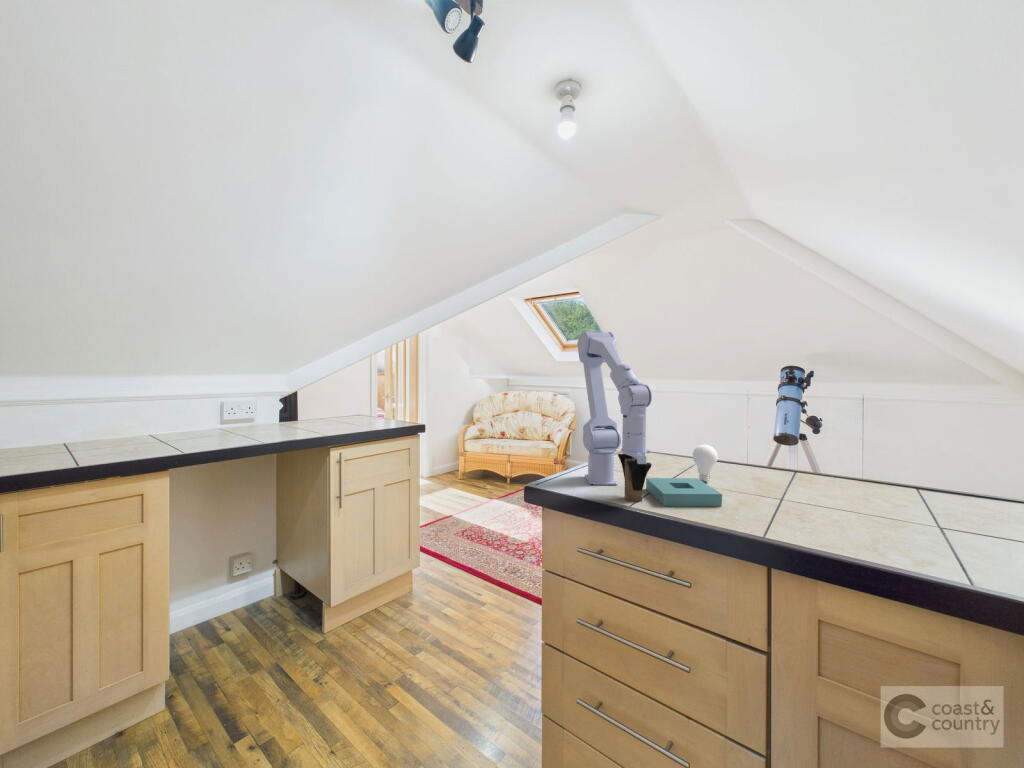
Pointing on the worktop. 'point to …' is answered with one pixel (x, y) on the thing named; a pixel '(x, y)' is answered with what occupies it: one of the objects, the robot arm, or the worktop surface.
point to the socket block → (683, 492)
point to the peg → (630, 485)
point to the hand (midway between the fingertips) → (633, 485)
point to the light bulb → (704, 461)
